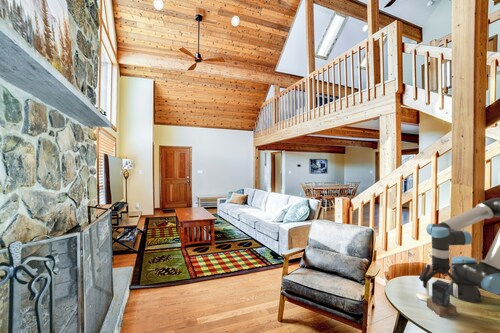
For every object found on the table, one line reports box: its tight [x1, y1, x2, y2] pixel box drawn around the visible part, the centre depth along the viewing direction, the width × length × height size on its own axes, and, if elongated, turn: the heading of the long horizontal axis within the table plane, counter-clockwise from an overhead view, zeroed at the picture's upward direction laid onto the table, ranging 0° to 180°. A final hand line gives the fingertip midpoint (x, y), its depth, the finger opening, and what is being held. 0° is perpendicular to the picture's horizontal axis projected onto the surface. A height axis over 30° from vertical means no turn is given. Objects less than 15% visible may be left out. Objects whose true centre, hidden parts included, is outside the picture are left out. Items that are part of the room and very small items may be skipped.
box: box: [431, 279, 451, 307], centre depth 131 cm, size 8×6×11 cm
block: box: [426, 298, 458, 318], centre depth 131 cm, size 9×9×5 cm
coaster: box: [415, 292, 432, 303], centre depth 144 cm, size 9×9×1 cm
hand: (441, 295), depth 131 cm, fingers open, 13 cm apart
